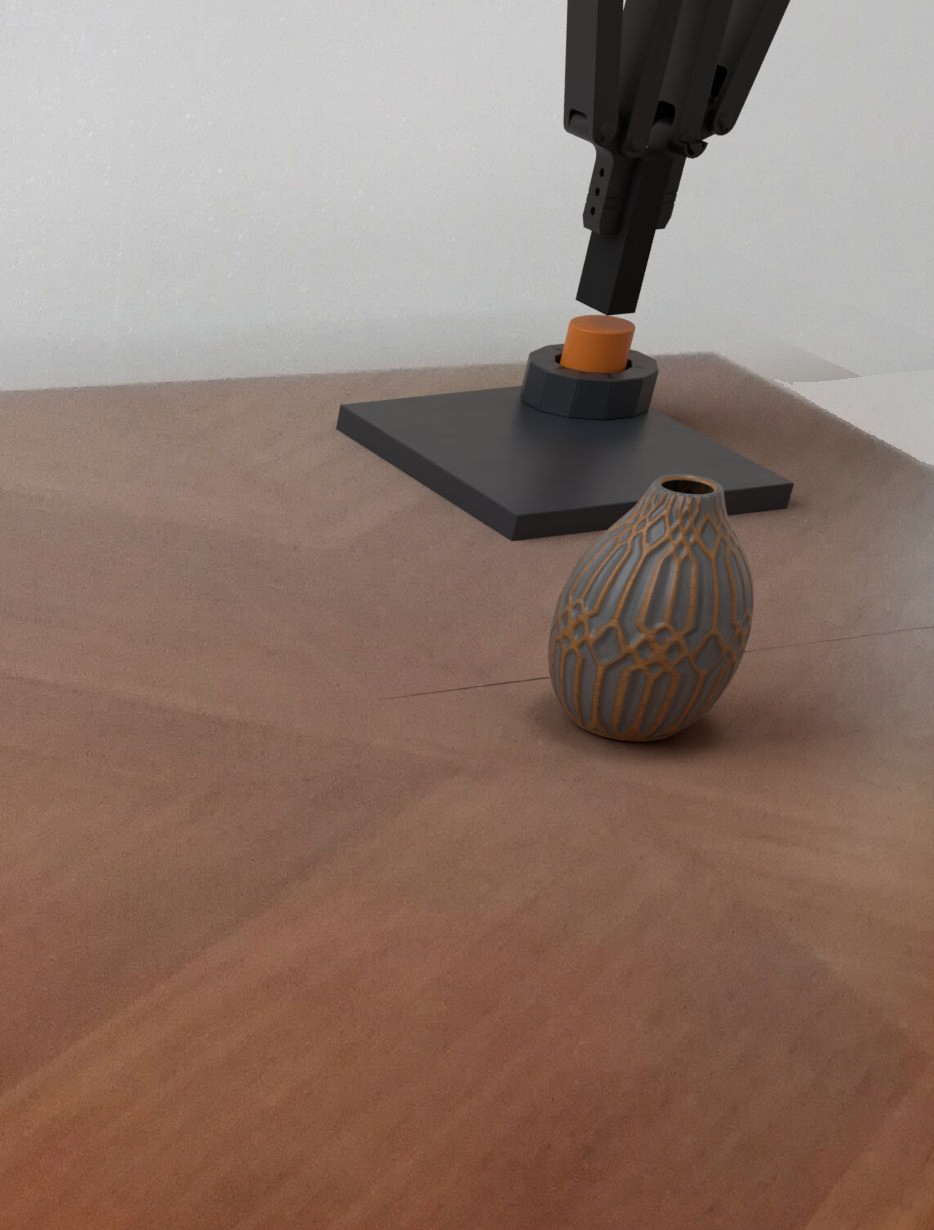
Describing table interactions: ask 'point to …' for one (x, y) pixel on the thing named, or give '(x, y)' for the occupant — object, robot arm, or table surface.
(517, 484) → the scale
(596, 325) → the button
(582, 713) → the vase
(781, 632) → the table surface
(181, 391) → the table surface
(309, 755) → the table surface
